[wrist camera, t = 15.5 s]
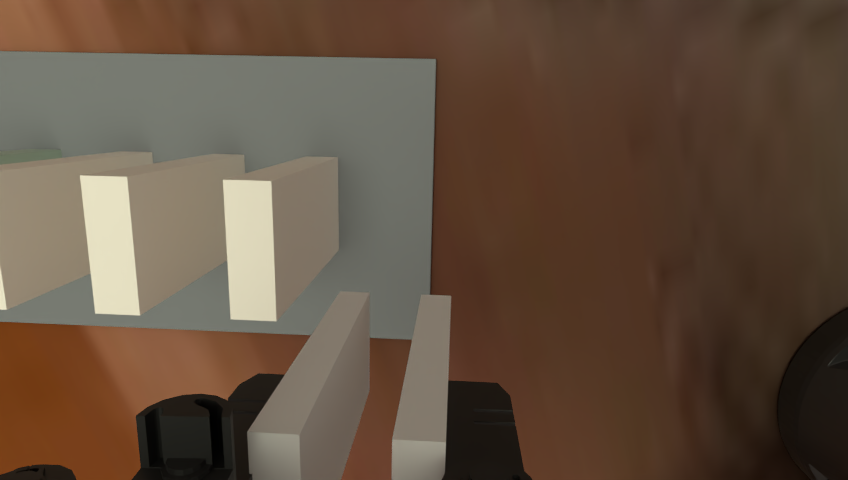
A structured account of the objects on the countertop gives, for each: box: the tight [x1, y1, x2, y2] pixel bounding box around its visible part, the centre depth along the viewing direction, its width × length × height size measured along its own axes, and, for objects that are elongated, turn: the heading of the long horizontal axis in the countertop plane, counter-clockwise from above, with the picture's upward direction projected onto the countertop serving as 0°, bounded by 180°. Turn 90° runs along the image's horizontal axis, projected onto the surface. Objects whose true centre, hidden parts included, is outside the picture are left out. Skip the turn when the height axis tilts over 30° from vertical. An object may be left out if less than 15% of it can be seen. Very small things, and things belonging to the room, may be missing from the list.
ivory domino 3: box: [223, 156, 339, 321], centre depth 30 cm, size 6×2×13 cm, turn 179°
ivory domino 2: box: [80, 154, 245, 316], centre depth 30 cm, size 6×2×13 cm, turn 179°
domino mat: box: [0, 51, 436, 340], centre depth 37 cm, size 18×38×1 cm, turn 89°
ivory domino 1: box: [0, 151, 153, 310], centre depth 30 cm, size 6×2×13 cm, turn 179°
